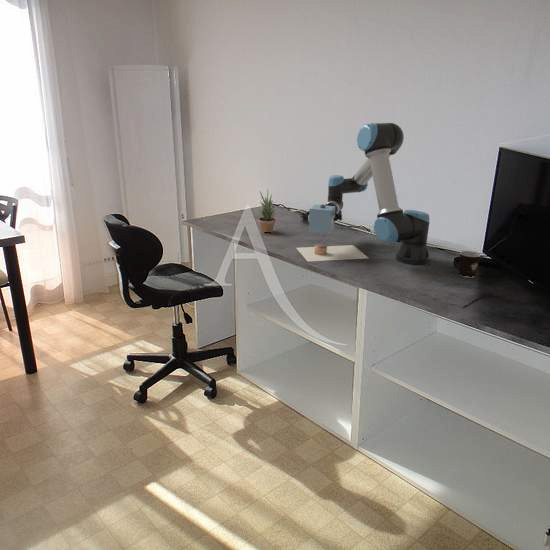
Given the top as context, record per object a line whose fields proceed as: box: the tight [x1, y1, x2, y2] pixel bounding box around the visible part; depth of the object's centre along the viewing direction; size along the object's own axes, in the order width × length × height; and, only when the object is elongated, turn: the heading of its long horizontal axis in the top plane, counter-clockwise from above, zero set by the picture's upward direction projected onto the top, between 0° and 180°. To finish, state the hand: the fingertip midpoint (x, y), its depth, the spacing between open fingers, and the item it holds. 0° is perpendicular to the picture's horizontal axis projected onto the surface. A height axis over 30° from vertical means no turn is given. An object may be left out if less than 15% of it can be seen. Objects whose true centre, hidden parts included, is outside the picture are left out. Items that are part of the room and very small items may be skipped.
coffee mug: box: [453, 250, 482, 277], centre depth 224 cm, size 12×9×10 cm
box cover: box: [308, 204, 336, 235], centre depth 246 cm, size 10×10×12 cm
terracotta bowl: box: [314, 244, 327, 255], centre depth 251 cm, size 6×6×4 cm
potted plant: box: [257, 188, 276, 233], centre depth 285 cm, size 10×10×25 cm
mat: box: [295, 244, 369, 262], centre depth 253 cm, size 22×30×1 cm
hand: (320, 219), depth 242 cm, fingers closed on box cover, 10 cm apart
